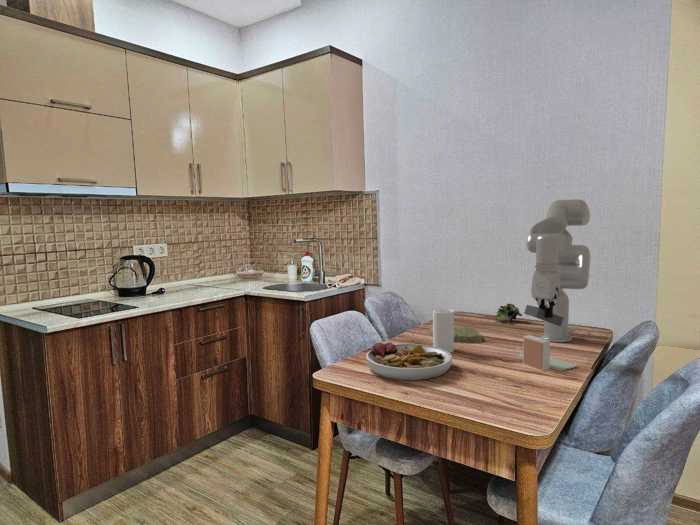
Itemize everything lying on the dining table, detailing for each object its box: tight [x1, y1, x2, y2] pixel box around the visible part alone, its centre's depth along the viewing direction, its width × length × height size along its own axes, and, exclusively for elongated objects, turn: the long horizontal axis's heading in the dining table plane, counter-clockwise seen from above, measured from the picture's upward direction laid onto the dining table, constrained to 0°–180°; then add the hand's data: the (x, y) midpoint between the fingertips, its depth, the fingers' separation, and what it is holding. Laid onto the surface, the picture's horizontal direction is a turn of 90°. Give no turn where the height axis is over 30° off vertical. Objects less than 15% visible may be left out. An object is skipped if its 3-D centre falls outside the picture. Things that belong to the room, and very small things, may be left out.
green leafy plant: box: [493, 303, 523, 323], centre depth 230 cm, size 11×11×12 cm
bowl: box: [365, 341, 453, 381], centre depth 162 cm, size 30×30×8 cm
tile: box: [522, 334, 551, 371], centre depth 161 cm, size 3×9×10 cm, turn 26°
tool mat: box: [515, 352, 579, 372], centre depth 167 cm, size 9×20×1 cm, turn 26°
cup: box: [432, 308, 455, 353], centre depth 183 cm, size 8×8×16 cm
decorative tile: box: [429, 326, 483, 343], centre depth 203 cm, size 19×20×4 cm
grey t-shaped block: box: [523, 304, 563, 326], centre depth 172 cm, size 15×6×4 cm, turn 112°
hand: (545, 316), depth 172 cm, fingers closed on grey t-shaped block, 2 cm apart
